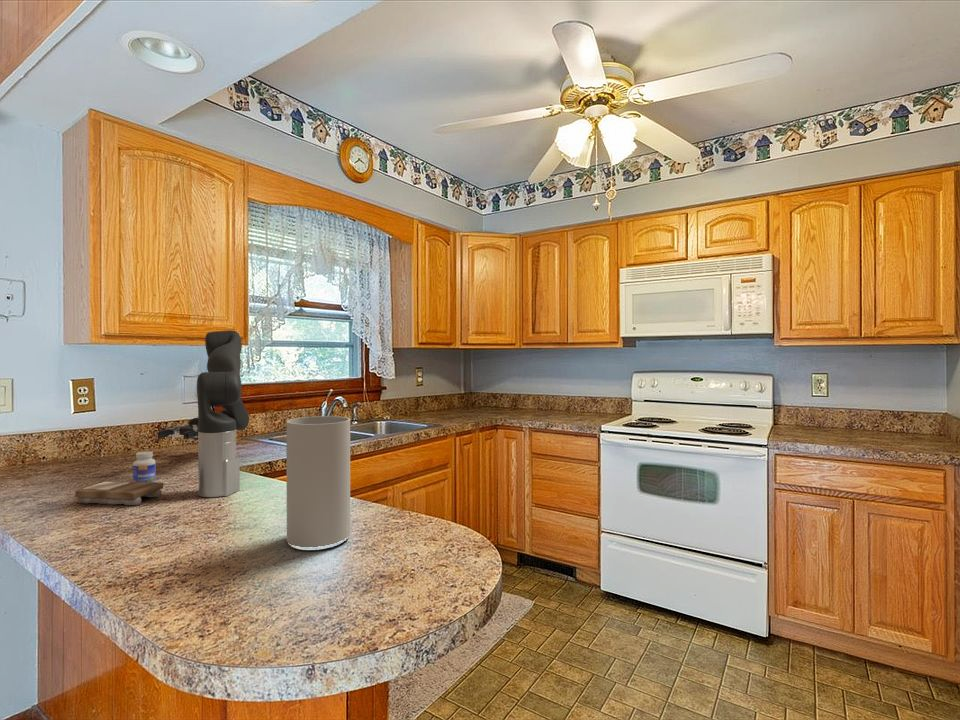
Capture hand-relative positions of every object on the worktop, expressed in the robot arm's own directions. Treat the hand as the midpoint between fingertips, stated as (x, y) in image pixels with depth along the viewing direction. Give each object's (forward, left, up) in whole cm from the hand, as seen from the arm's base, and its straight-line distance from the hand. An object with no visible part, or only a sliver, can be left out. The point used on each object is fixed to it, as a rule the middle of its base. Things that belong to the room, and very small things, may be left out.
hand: (171, 435), depth 156 cm
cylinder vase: (-67, +45, -13) cm, 82 cm away
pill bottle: (0, +11, -13) cm, 17 cm away
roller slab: (-4, +24, -13) cm, 28 cm away
